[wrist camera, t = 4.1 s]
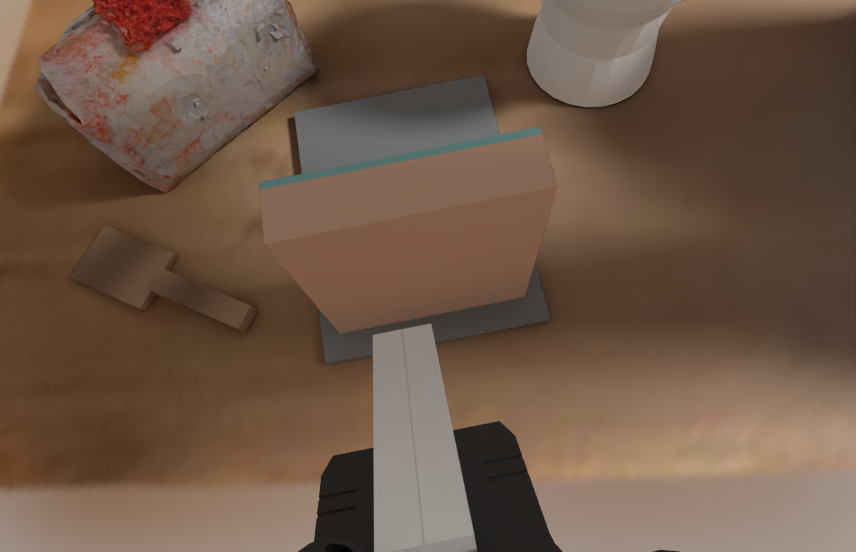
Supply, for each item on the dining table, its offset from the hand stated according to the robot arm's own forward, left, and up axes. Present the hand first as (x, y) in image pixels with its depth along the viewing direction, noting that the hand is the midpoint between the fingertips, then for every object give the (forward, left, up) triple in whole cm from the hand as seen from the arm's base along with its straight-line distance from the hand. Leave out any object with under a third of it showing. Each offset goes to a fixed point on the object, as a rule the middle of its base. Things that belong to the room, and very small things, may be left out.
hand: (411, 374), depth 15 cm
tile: (+3, -6, -14) cm, 16 cm away
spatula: (+17, -1, -15) cm, 23 cm away
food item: (+21, -13, -15) cm, 29 cm away
